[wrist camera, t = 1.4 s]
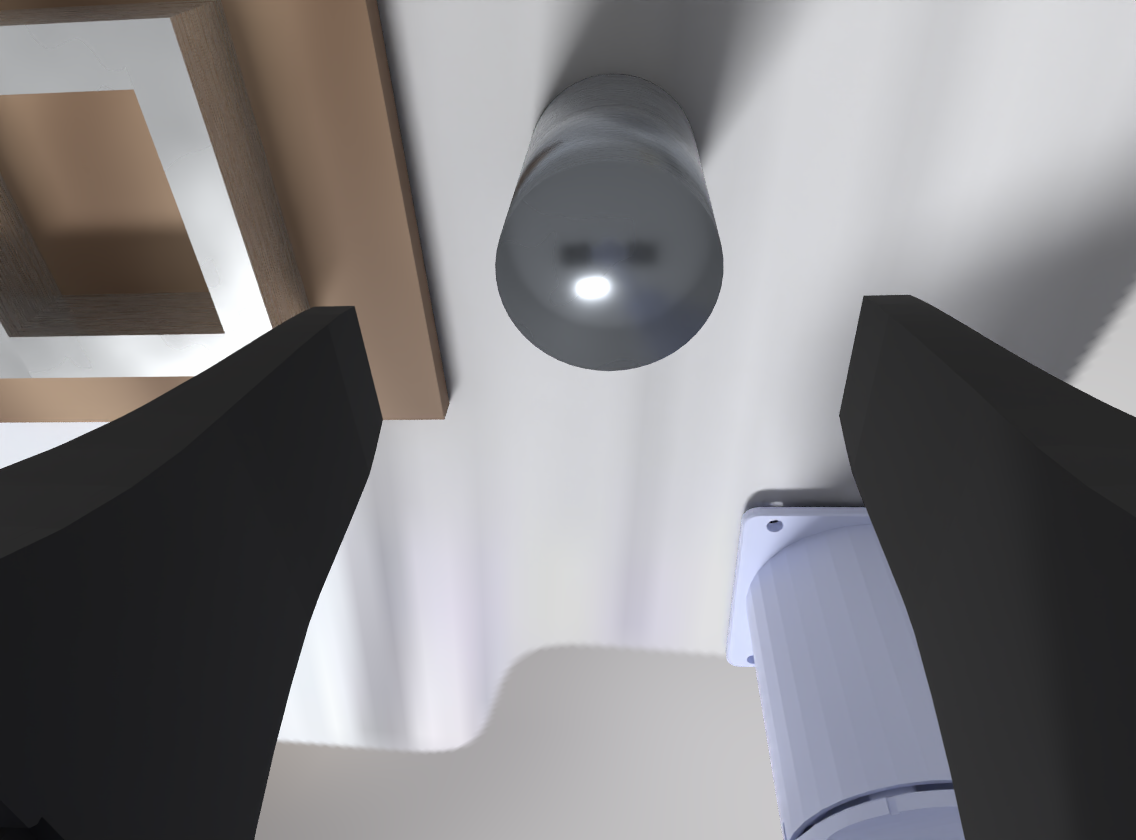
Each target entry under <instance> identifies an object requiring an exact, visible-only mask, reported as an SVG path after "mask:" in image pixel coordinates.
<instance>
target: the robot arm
mask: <svg viewBox="0 0 1136 840" xmlns="http://www.w3.org/2000/svg"><path fill="white" fill-rule="evenodd" d="M839 417H840V422H841V426H842V431H843V436H844V440H845V445H846V449H847V453H848V458H849V462H850V466H851V470H852V474H853V476H854V479H855V481H856V484H857V487H858V489H859V492H860V494H861V497H862V500H863V502H864V505H865V507H756V508H751V509H749V510H747V511H746V512H745V513H744V514H743V516H742V520H741V529H740V537H739V545H738V554H737V562H736V570H735V579H734V587H733V595H732V604H731V612H730V621H729V629H728V637H727V646H726V656H727V661H728V662H729V663H730V664H732V665H734V666H741V667H742V666H743V667H755V668H756V674H757V681H758V686H759V693H760V699H761V705H762V711H763V717H764V724H765V730H766V736H767V742H768V748H769V754H770V760H771V766H772V773H773V779H774V785H775V791H776V797H777V803H778V809H779V816H780V822H781V828H782V834H783V840H1136V417H1134V416H1132V415H1129V414H1127V413H1125V412H1123V411H1121V410H1119V409H1117V408H1114V407H1112V406H1110V405H1108V404H1106V403H1104V402H1102V401H1100V400H1098V399H1096V398H1094V397H1092V396H1090V395H1088V394H1087V393H1085V392H1083V391H1081V390H1079V389H1077V388H1075V387H1073V386H1071V385H1069V384H1067V383H1065V382H1063V381H1061V380H1059V379H1058V378H1056V377H1054V376H1052V375H1050V374H1048V373H1047V372H1045V371H1043V370H1041V369H1039V368H1038V367H1036V366H1034V365H1032V364H1030V363H1029V362H1027V361H1025V360H1023V359H1022V358H1020V357H1018V356H1016V355H1015V354H1013V353H1011V352H1010V351H1008V350H1006V349H1005V348H1003V347H1001V346H999V345H998V344H996V343H994V342H993V341H991V340H989V339H988V338H986V337H984V336H983V335H981V334H979V333H978V332H976V331H974V330H973V329H971V328H969V327H968V326H966V325H964V324H963V323H961V322H959V321H958V320H956V319H954V318H953V317H951V316H949V315H947V314H946V313H944V312H942V311H941V310H939V309H937V308H935V307H933V306H932V305H930V304H928V303H926V302H924V301H922V300H920V299H918V298H916V297H913V296H911V295H879V296H864V297H863V302H862V306H861V311H860V316H859V321H858V326H857V331H856V336H855V341H854V345H853V350H852V355H851V360H850V365H849V370H848V375H847V380H846V385H845V389H844V394H843V399H842V404H841V409H840V414H839ZM382 421H383V417H382V413H381V409H380V405H379V401H378V397H377V393H376V389H375V385H374V381H373V377H372V373H371V369H370V365H369V361H368V357H367V353H366V349H365V345H364V341H363V337H362V333H361V329H360V325H359V321H358V317H357V313H356V309H355V306H319V307H312V308H310V309H308V310H305V311H303V312H301V313H299V314H297V315H295V316H294V317H292V318H290V319H288V320H286V321H285V322H283V323H281V324H280V325H278V326H276V327H275V328H273V329H271V330H270V331H268V332H266V333H265V334H263V335H262V336H260V337H258V338H257V339H255V340H253V341H252V342H250V343H249V344H247V345H245V346H244V347H242V348H241V349H239V350H237V351H236V352H234V353H232V354H231V355H229V356H228V357H226V358H224V359H223V360H221V361H219V362H218V363H216V364H215V365H213V366H211V367H210V368H208V369H206V370H205V371H203V372H201V373H199V374H198V375H196V376H194V377H192V378H191V379H189V380H187V381H185V382H184V383H182V384H180V385H178V386H177V387H175V388H173V389H171V390H170V391H168V392H166V393H164V394H163V395H161V396H159V397H157V398H155V399H154V400H152V401H150V402H148V403H147V404H145V405H143V406H141V407H139V408H137V409H135V410H133V411H132V412H130V413H128V414H126V415H124V416H122V417H120V418H118V419H116V420H114V421H112V422H110V423H108V424H106V425H103V426H101V427H99V428H97V429H95V430H93V431H90V432H88V433H86V434H84V435H82V436H80V437H78V438H75V439H73V440H71V441H69V442H67V443H64V444H62V445H60V446H57V447H55V448H53V449H50V450H48V451H45V452H43V453H40V454H38V455H35V456H33V457H30V458H27V459H25V460H22V461H20V462H17V463H15V464H12V465H10V466H7V467H4V468H2V469H0V840H254V837H255V833H256V828H257V824H258V819H259V815H260V811H261V806H262V802H263V798H264V793H265V789H266V784H267V779H268V776H269V771H270V767H271V762H272V758H273V754H274V750H275V746H276V742H277V738H278V734H279V730H280V726H281V723H282V719H283V715H284V711H285V707H286V703H287V699H288V696H289V692H290V688H291V684H292V681H293V677H294V674H295V670H296V667H297V663H298V660H299V656H300V653H301V650H302V646H303V643H304V639H305V636H306V632H307V629H308V625H309V622H310V620H311V617H312V614H313V611H314V609H315V606H316V603H317V600H318V598H319V595H320V593H321V590H322V588H323V585H324V583H325V581H326V578H327V576H328V573H329V571H330V569H331V566H332V564H333V562H334V559H335V557H336V554H337V552H338V550H339V547H340V545H341V543H342V540H343V538H344V535H345V533H346V531H347V528H348V526H349V524H350V521H351V519H352V516H353V514H354V511H355V509H356V507H357V504H358V502H359V499H360V497H361V494H362V492H363V489H364V487H365V484H366V482H367V479H368V477H369V474H370V470H371V467H372V463H373V459H374V455H375V451H376V447H377V443H378V438H379V434H380V430H381V425H382ZM773 520H778V522H776V523H769V522H770V521H773Z"/></svg>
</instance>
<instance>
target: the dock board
mask: <svg viewBox="0 0 1136 840" xmlns="http://www.w3.org/2000/svg"><path fill="white" fill-rule="evenodd" d="M174 1H193V0H0V11H2V10H21V9H40V8H59V7H78V6H97V5H117V4H136V3H155V2H174ZM221 3H222V6H223V9H224V13H225V16H226V20H227V23H228V27H229V30H230V34H231V37H232V40H233V44H234V47H235V51H236V54H237V58H238V61H239V65H240V68H241V72H242V75H243V78H244V82H245V85H246V89H247V92H248V96H249V99H250V103H251V106H252V109H253V113H254V116H255V120H256V123H257V127H258V130H259V134H260V137H261V141H262V144H263V147H264V151H265V154H266V158H267V161H268V165H269V168H270V172H271V175H272V178H273V182H274V185H275V189H276V192H277V196H278V199H279V203H280V206H281V209H282V213H283V216H284V220H285V223H286V227H287V230H288V234H289V237H290V241H291V244H292V247H293V251H294V254H295V258H296V261H297V265H298V268H299V272H300V275H301V278H302V282H303V285H304V289H305V292H306V296H307V299H308V303H309V306H310V308H312V307H319V306H355V309H356V313H357V317H358V321H359V325H360V329H361V333H362V337H363V341H364V345H365V349H366V353H367V357H368V361H369V365H370V369H371V373H372V377H373V381H374V385H375V389H376V393H377V397H378V401H379V405H380V409H381V413H382V417H383V420H432V419H445V416H446V413H447V409H448V406H449V399H448V393H447V387H446V382H445V376H444V371H443V365H442V360H441V354H440V349H439V343H438V338H437V332H436V327H435V321H434V315H433V310H432V304H431V299H430V293H429V288H428V282H427V277H426V271H425V266H424V260H423V255H422V249H421V243H420V238H419V232H418V227H417V221H416V216H415V210H414V205H413V199H412V194H411V188H410V182H409V177H408V171H407V166H406V160H405V155H404V149H403V144H402V138H401V133H400V127H399V122H398V116H397V110H396V105H395V99H394V94H393V88H392V83H391V77H390V72H389V66H388V61H387V55H386V49H385V44H384V38H383V33H382V27H381V22H380V16H379V11H378V5H377V0H221ZM0 173H1V175H2V177H3V179H4V181H5V183H6V185H7V187H8V189H9V191H10V193H11V194H12V196H13V198H14V200H15V202H16V204H17V206H18V208H19V210H20V212H21V214H22V216H23V218H24V220H25V222H26V224H27V226H28V228H29V230H30V232H31V234H32V236H33V238H34V240H35V242H36V244H37V246H38V248H39V250H40V252H41V254H42V256H43V258H44V260H45V262H46V264H47V266H48V268H49V270H50V272H51V274H52V276H53V277H54V279H55V281H56V283H57V285H58V287H59V289H60V291H61V293H62V295H93V294H141V293H189V292H209V289H208V287H207V284H206V281H205V279H204V276H203V273H202V271H201V268H200V265H199V263H198V260H197V257H196V255H195V252H194V249H193V246H192V244H191V241H190V238H189V236H188V233H187V230H186V228H185V225H184V222H183V220H182V217H181V214H180V212H179V209H178V206H177V204H176V201H175V198H174V196H173V193H172V190H171V188H170V185H169V182H168V180H167V177H166V174H165V172H164V169H163V166H162V164H161V161H160V158H159V156H158V153H157V150H156V148H155V145H154V142H153V140H152V137H151V134H150V132H149V129H148V126H147V124H146V121H145V118H144V116H143V113H142V110H141V108H140V105H139V102H138V100H137V97H136V94H135V92H134V89H131V90H107V91H84V92H61V93H38V94H14V95H0ZM192 377H194V376H169V377H85V378H0V423H2V422H112V421H114V420H116V419H118V418H120V417H122V416H124V415H126V414H128V413H130V412H132V411H133V410H135V409H137V408H139V407H141V406H143V405H145V404H147V403H148V402H150V401H152V400H154V399H155V398H157V397H159V396H161V395H163V394H164V393H166V392H168V391H170V390H171V389H173V388H175V387H177V386H178V385H180V384H182V383H184V382H185V381H187V380H189V379H191V378H192Z"/></svg>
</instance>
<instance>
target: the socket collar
mask: <svg viewBox="0 0 1136 840" xmlns="http://www.w3.org/2000/svg"><path fill="white" fill-rule="evenodd" d="M131 89H134V92H135V94H136V97H137V100H138V102H139V105H140V108H141V110H142V113H143V116H144V118H145V121H146V124H147V126H148V129H149V132H150V134H151V137H152V140H153V142H154V145H155V148H156V150H157V153H158V156H159V158H160V161H161V164H162V166H163V169H164V172H165V174H166V177H167V180H168V182H169V185H170V188H171V190H172V193H173V196H174V198H175V201H176V204H177V206H178V209H179V212H180V214H181V217H182V220H183V222H184V225H185V228H186V230H187V233H188V236H189V238H190V241H191V244H192V246H193V249H194V252H195V255H196V257H197V260H198V263H199V265H200V268H201V271H202V273H203V276H204V279H205V281H206V284H207V287H208V289H209V292H189V293H141V294H93V295H62V293H61V291H60V289H59V287H58V285H57V283H56V281H55V279H54V277H53V276H52V274H51V272H50V270H49V268H48V266H47V264H46V262H45V260H44V258H43V256H42V254H41V252H40V250H39V248H38V246H37V244H36V242H35V240H34V238H33V236H32V234H31V232H30V230H29V228H28V226H27V224H26V222H25V220H24V218H23V216H22V214H21V212H20V210H19V208H18V206H17V204H16V202H15V200H14V198H13V196H12V194H11V193H10V191H9V189H8V187H7V185H6V183H5V181H4V179H3V177H2V175H1V173H0V378H85V377H169V376H196V375H198V374H199V373H201V372H203V371H205V370H206V369H208V368H210V367H211V366H213V365H215V364H216V363H218V362H219V361H221V360H223V359H224V358H226V357H228V356H229V355H231V354H232V353H234V352H236V351H237V350H239V349H241V348H242V347H244V346H245V345H247V344H249V343H250V342H252V341H253V340H255V339H257V338H258V337H260V336H262V335H263V334H265V333H266V332H268V331H270V330H271V329H273V328H275V327H276V326H278V325H280V324H281V323H283V322H285V321H286V320H288V319H290V318H292V317H294V316H295V315H297V314H299V313H301V312H303V311H305V310H308V309H310V306H309V303H308V299H307V296H306V292H305V289H304V285H303V282H302V278H301V275H300V272H299V268H298V265H297V261H296V258H295V254H294V251H293V247H292V244H291V241H290V237H289V234H288V230H287V227H286V223H285V220H284V216H283V213H282V209H281V206H280V203H279V199H278V196H277V192H276V189H275V185H274V182H273V178H272V175H271V172H270V168H269V165H268V161H267V158H266V154H265V151H264V147H263V144H262V141H261V137H260V134H259V130H258V127H257V123H256V120H255V116H254V113H253V109H252V106H251V103H250V99H249V96H248V92H247V89H246V85H245V82H244V78H243V75H242V72H241V68H240V65H239V61H238V58H237V54H236V51H235V47H234V44H233V40H232V37H231V34H230V30H229V27H228V23H227V20H226V16H225V13H224V9H223V6H222V3H221V0H193V1H174V2H155V3H136V4H117V5H97V6H78V7H59V8H40V9H21V10H2V11H0V95H14V94H38V93H61V92H84V91H107V90H131Z"/></svg>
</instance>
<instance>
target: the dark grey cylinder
mask: <svg viewBox="0 0 1136 840" xmlns="http://www.w3.org/2000/svg"><path fill="white" fill-rule="evenodd" d="M495 267H496V281H497V286H498V291H499V294H500V297H501V300H502V303H503V305H504V307H505V309H506V311H507V313H508V315H509V317H510V319H511V320H512V322H513V323H514V324H515V326H516V327H517V328H518V330H519V331H520V332H521V333H522V334H523V335H524V336H525V337H526V338H527V339H528V340H529V341H530V342H531V343H532V344H533V345H535V346H536V347H537V348H539V349H540V350H542V351H543V352H545V353H546V354H548V355H550V356H552V357H553V358H555V359H557V360H560V361H562V362H565V363H567V364H570V365H573V366H577V367H581V368H585V369H591V370H601V371H616V370H627V369H632V368H638V367H641V366H645V365H648V364H651V363H653V362H656V361H658V360H661V359H663V358H665V357H666V356H668V355H670V354H672V353H674V352H675V351H677V350H678V349H679V348H681V347H682V346H683V345H685V344H686V343H687V342H688V341H689V340H690V339H691V338H692V337H693V336H695V335H696V333H697V332H698V331H699V330H700V329H701V327H702V326H703V325H704V324H705V322H706V321H707V319H708V317H709V316H710V314H711V313H712V311H713V308H714V306H715V304H716V302H717V299H718V296H719V293H720V289H721V285H722V278H723V254H722V247H721V242H720V238H719V234H718V230H717V226H716V222H715V218H714V214H713V210H712V206H711V202H710V198H709V194H708V190H707V186H706V182H705V178H704V174H703V170H702V166H701V162H700V158H699V154H698V150H697V146H696V142H695V138H694V135H693V131H692V128H691V126H690V123H689V121H688V119H687V117H686V115H685V114H684V112H683V110H682V109H681V107H680V106H679V105H678V104H677V103H676V101H675V100H674V99H673V98H672V97H671V96H670V95H669V94H667V93H666V92H665V91H664V90H662V89H661V88H659V87H658V86H656V85H655V84H653V83H651V82H649V81H646V80H644V79H641V78H638V77H635V76H630V75H624V74H606V75H598V76H594V77H590V78H587V79H584V80H582V81H580V82H577V83H575V84H574V85H572V86H570V87H568V88H567V89H566V90H564V91H563V92H562V93H560V94H559V95H558V96H557V97H556V98H555V99H554V100H553V101H552V102H551V103H550V104H549V105H548V107H547V108H546V109H545V111H544V112H543V114H542V115H541V117H540V119H539V121H538V123H537V125H536V128H535V130H534V133H533V136H532V139H531V142H530V145H529V148H528V151H527V154H526V157H525V161H524V164H523V167H522V170H521V173H520V176H519V179H518V182H517V186H516V189H515V192H514V195H513V198H512V201H511V204H510V208H509V211H508V214H507V217H506V220H505V223H504V226H503V229H502V233H501V236H500V239H499V243H498V248H497V253H496V263H495Z"/></svg>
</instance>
